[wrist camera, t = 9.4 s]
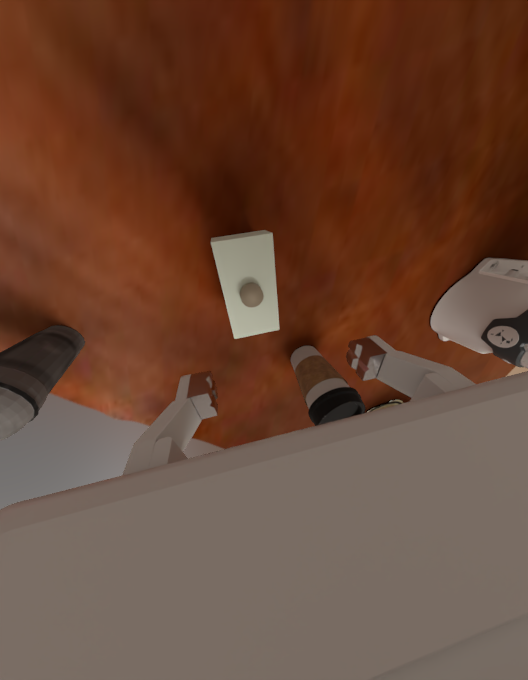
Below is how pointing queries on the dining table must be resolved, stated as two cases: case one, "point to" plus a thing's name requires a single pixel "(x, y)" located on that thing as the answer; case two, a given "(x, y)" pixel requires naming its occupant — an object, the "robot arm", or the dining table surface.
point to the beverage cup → (33, 374)
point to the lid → (248, 281)
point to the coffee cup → (324, 388)
